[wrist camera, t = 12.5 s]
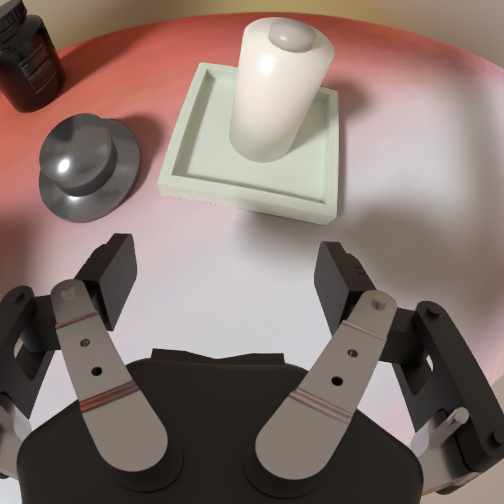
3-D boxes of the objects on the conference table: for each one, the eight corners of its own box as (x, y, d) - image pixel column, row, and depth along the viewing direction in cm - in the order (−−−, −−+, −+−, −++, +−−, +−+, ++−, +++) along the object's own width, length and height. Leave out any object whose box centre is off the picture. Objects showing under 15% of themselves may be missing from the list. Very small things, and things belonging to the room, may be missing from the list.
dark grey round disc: (30, 214, 19) (5, 197, 15) (67, 123, 21) (51, 97, 18) (122, 231, 20) (105, 212, 16) (154, 129, 22) (147, 98, 18)
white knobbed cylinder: (223, 155, 22) (237, 44, 11) (235, 107, 23) (253, 1, 12) (288, 168, 22) (341, 69, 12) (293, 119, 23) (337, 21, 13)
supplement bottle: (64, 60, 23) (34, -18, 11) (70, 93, 22) (30, 4, 11) (15, 89, 22) (-26, 21, 10) (15, 126, 21) (-40, 53, 9)
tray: (161, 195, 21) (157, 183, 19) (199, 77, 24) (200, 62, 22) (326, 225, 22) (336, 217, 21) (330, 104, 25) (337, 91, 23)
